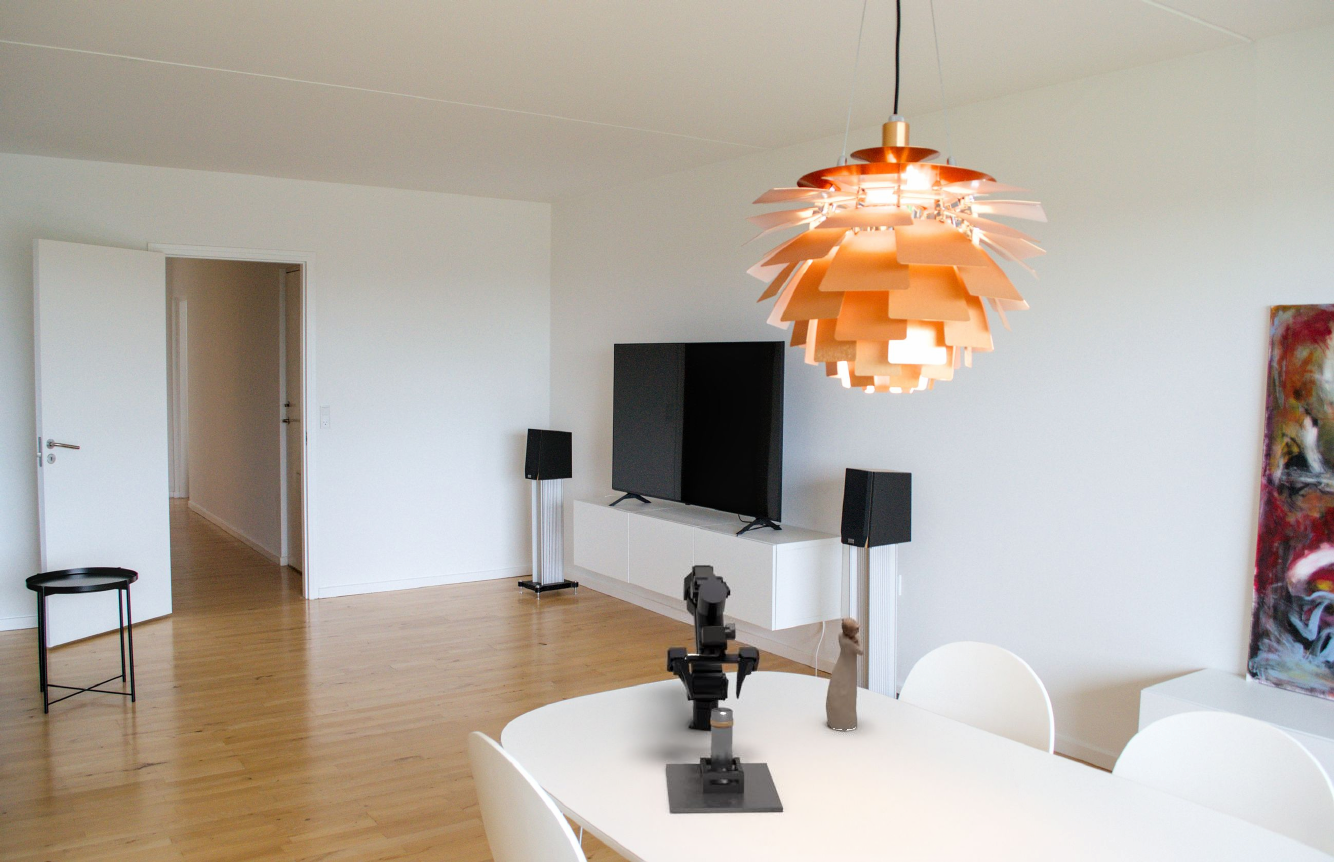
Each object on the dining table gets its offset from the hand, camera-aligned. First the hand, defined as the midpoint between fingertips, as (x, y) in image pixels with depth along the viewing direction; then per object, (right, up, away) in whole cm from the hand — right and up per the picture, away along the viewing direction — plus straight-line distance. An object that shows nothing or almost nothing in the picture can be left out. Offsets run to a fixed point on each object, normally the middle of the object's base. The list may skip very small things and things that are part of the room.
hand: (714, 697), depth 192 cm
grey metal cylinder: (+1, -13, -10) cm, 17 cm away
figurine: (+30, -13, +23) cm, 40 cm away
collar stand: (+1, -14, -10) cm, 18 cm away
